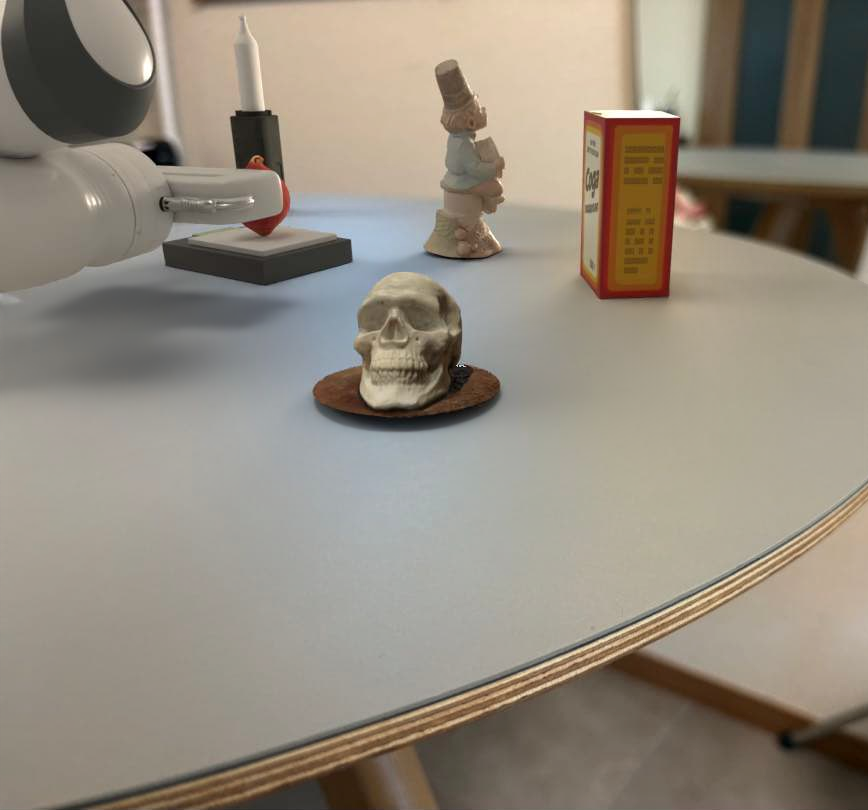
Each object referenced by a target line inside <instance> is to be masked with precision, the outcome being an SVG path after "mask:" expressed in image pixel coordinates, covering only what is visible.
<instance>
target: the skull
mask: <svg viewBox="0 0 868 810" xmlns="http://www.w3.org/2000/svg"><path fill="white" fill-rule="evenodd" d="M461 313H462V310H461V307H460V306H459V304H458V303H457V301H456V300H455V298H454V296H452V295H451V294H450V293H449V292H448V291H447V290H446V289H445V288H444V287H443V286H442V285H441V284H440V283H439V282H437V281H436V280H434V279H433V278H431V277H429V276H427V275H424V274H421V273H419V272H418V273H417V272H412V271H397V272H392V273H390V274H387V275H385V276H384V277H382V278H381V279H380V280H378V281H377V282H376V283H375V284H373V286H372V287H371V289H370V290H369V292H368V293H367V295H366V297H365V298H364V300H363V302H361V304H360V306H359V308H358V310H357V313H356V314H357V315H356V319H357V328H358V332H357V335H356V337H355V339H354V343H353V349H354V350H355V352H356V353H358V355H359V356H360V357H361V359H362V360H361V361H362V365H357V366H353V367H352V366H351V367H349V368H345V369H343V370H342V369H341V370H339V371H335V372H333V373H331V374H327V375H326V376H325V377H323V378H322V379H320V380H318V381H317V382H316V383H315V385H313V388H312V394H313V397H314V399H315V400H316V401H318V402H319V403H321V404H323V405H326V408H328V409H331V408H332V409H335V410H338V411H342V412H347V413H352V414H353V413H354V414H357V415H365V416H374V417H383V418H384V417H385V418H391V419H393V418H394V417H396V418H397V417H398V418H399V419H401V418H414V417H422V416H426V415H427V416H429V415H436V414H440V413H445V414H446V413H450V412H452V411H454V412H455V411H456V412H459V410H460V411H461V410H464V409H466V408H467V410H470V407H471V408H477V406H478V407H481V406H482V403H483V402H489V401H490V400H489V399H494V397H495V395H496V394H498V392H499V391H500V389H501V382H500V379H499V378H498V377H497V375H494V374H493V373H492V372H491V371H489V370H486V369H484V368H480V367H479V366H478V367H477V366H475V365H471V364H466V363H464V364H463V365H464V366H466V367H463V366H461V367H459V365H461V364H460V363H459V361H460V360H461V356H462V346H463V320H462V319H463V318H462V314H461ZM457 364H459V365H458V367H457V366H456V365H457ZM476 405H477V406H476Z"/></svg>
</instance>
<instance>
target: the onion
mask: <svg viewBox="0 0 868 810" xmlns="http://www.w3.org/2000/svg"><path fill="white" fill-rule="evenodd" d="M263 161H264V159H263V158H262V157H260V156H259V155H258V156H254V157H253V158H252V159H251V160H250V162H249V164H248V165H247V167H246V168H244V169H253V170H271V169H269V168H267V167H266V166H264V164H263ZM271 171H272V170H271ZM279 178H280V177H279ZM280 181H281V186H282V195H283V209H282V211H281V213H279V214H277V215H274V216H270V217H266V218H262V219H258V220H253V221H249V222H244V223H241V224H242V225H243V227H244V226H246V227H247V228H249V229H250V230H252V231H254V232H255V233H257V234H259V235H261V236H268V235H270V234H271V233H272V231H273V230H274V229H275V228H276V227H277V226H278V225H279V226H280V224H281V223H282V222H283V221H284V220H285V218H286V217H287V216H288V214H289V211H290V209H291V195H290V191H289V189H288V187H287V185H286V182H285V183H284V182H283V180H282V179H281V178H280Z"/></svg>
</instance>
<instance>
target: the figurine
mask: <svg viewBox="0 0 868 810" xmlns="http://www.w3.org/2000/svg"><path fill="white" fill-rule="evenodd" d="M434 76H435V80H436V83H437V88H438V89H439V92H440V95H441V97H442V102H443V107H442V111H441V112H442V113H441V117H440V120H439V122H440V124H441V125H442V126H443V128H444V130H445V131H446V132H447V133H448V134H449V135H448V136H447V140H446V153H445V157H444V165H445V168H446V169H447V171H446V172H445V174H444V176H443V178H442V179H441V180H440V182H439V185H440V188H441V189H442V190H443V208H442V209H437V210H436V212H435V224H434V229H433V231H432V232H431V233H430V236H429V237H428V239H427V240H426V242H425V243H424V244H423V245H422V247H423V250H425V251H426V252H428V253H431V254H434V255H438V256H443V257H449V258H457V259H458V258H459V259H460V258H466V259H470V258H471V259H478V258H488V257H489V256H491V255H494V254H497V253H499V252H501V251H502V247H501V244H500V243H499V241H498V240H497V239H496V238H495V236H494V234H493V233H492V231H491V229H490V228H489V225H488V224H487V223H486V222H485V219H484V218H483V216H484V213H485V214H487V215H492V214H495V213H496V212H497V209H498V205H500V204H503V203H504V202H505V200H506V198H505V195H503V193H504V185H503V184H502V183H501V181H500V180H501V179H502V178H503V173H504V172H503V170H506V169H507V168H506V167H507V164H506V160H505V157H504V156H500V153H499V150H498V146H497V145H496V143H495V140H494V138H493V137H492V136H488V137H485V138H484V139H480V140H477V141H475V140H476V137H477V131H479V130H483V129H485V128H487V127H488V121H489V115H488V113H487V112H486V111H487V107H486V106H481V105H480V101H479V98H480V96H479V94H476V92H475V91H473V90H472V88H471V86H470V85H469V82H468V80H467V77H466V76H465V73H464V71H463V69H462V67H461V65H460V62H458V60H456V59H454V58H453V59H447V60H444V61H442V62H440V63H438V64H437V65H436V66H435V68H434Z"/></svg>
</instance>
